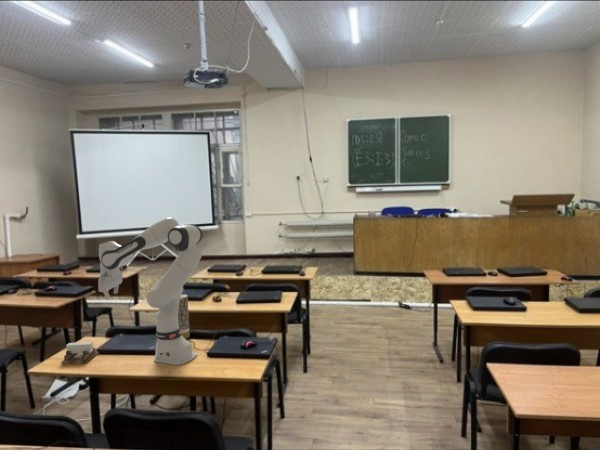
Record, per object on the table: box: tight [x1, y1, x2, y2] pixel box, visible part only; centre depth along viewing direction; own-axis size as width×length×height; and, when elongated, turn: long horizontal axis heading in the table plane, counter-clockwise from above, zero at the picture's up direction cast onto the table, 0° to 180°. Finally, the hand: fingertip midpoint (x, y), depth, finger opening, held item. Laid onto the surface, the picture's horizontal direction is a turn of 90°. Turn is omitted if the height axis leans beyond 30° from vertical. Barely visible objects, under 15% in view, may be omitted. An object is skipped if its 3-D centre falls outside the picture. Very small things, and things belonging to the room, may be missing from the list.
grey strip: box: [65, 341, 94, 353], centre depth 213 cm, size 12×3×4 cm, turn 94°
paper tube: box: [178, 294, 191, 340], centre depth 238 cm, size 7×7×25 cm
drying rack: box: [61, 346, 100, 365], centre depth 213 cm, size 13×12×5 cm
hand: (111, 295), depth 221 cm, fingers open, 8 cm apart
